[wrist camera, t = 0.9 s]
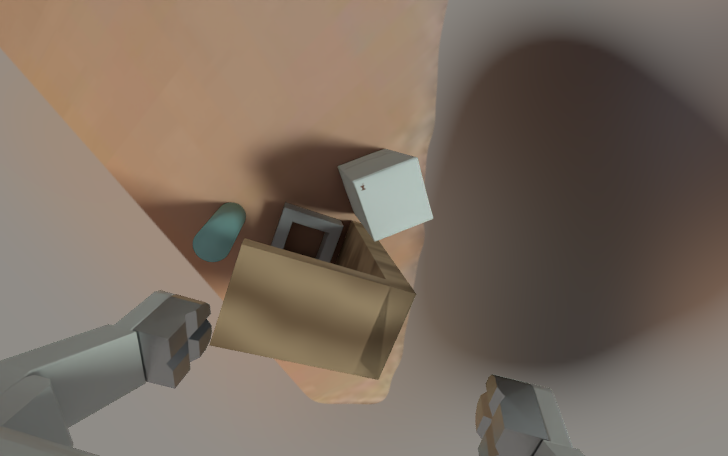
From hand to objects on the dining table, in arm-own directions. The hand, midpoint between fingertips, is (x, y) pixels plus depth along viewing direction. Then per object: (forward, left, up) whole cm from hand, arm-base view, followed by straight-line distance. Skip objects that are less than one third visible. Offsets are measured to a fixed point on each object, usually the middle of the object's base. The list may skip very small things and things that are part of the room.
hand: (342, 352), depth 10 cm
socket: (+9, +3, -39) cm, 41 cm away
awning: (+9, +3, -39) cm, 41 cm away
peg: (+9, -7, -39) cm, 41 cm away
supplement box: (-2, +9, -40) cm, 41 cm away
